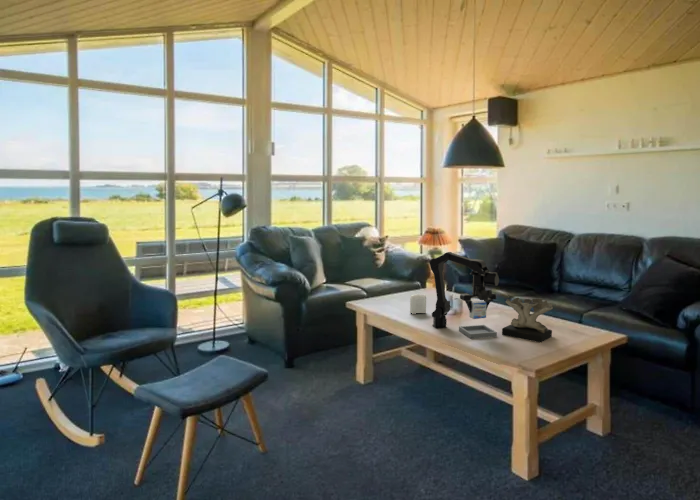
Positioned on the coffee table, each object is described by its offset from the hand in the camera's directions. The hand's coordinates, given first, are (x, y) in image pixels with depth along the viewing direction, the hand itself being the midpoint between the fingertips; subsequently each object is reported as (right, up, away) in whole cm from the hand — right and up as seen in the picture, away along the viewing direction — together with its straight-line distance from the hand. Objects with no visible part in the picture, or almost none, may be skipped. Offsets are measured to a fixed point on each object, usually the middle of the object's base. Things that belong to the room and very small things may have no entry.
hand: (477, 312), depth 276 cm
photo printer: (-26, -7, +46) cm, 54 cm away
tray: (0, -12, +1) cm, 12 cm away
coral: (+24, -13, -7) cm, 28 cm away
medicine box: (0, -3, 0) cm, 3 cm away
